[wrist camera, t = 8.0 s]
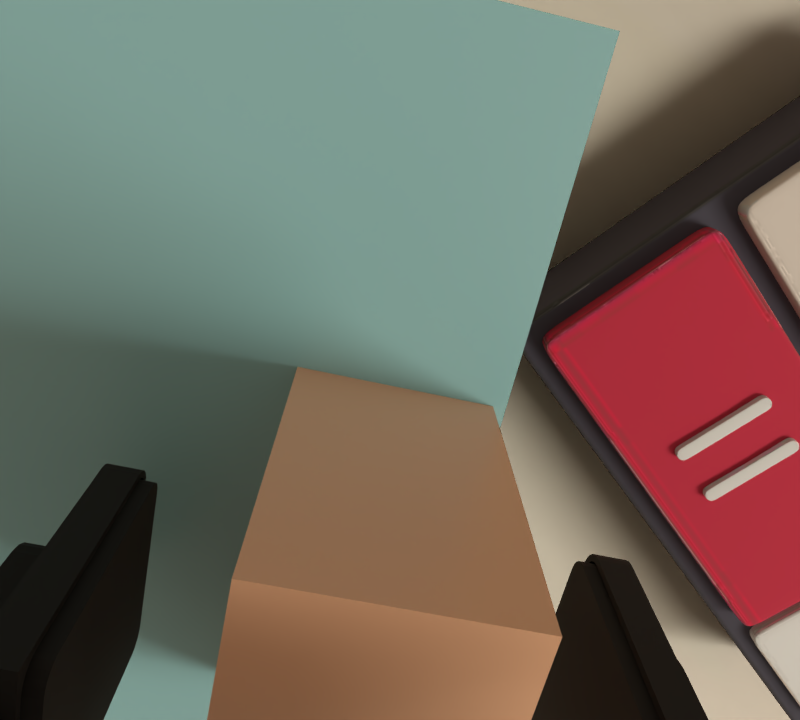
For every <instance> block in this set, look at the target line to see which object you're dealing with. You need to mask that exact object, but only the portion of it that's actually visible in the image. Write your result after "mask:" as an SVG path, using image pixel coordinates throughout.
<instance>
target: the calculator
mask: <svg viewBox="0 0 800 720" xmlns="http://www.w3.org/2000/svg"><path fill="white" fill-rule="evenodd" d="M523 354H524V356H525V357H526V359H527V360H528V361H529V363H530V364H531V365H532V367H533V368H534V370H535V371H536V372H537V374H538V375H539V376H540V378H541V379H542V380H543V382H544V383H545V385H546V386H547V387H548V389H549V390H550V391H551V393H552V394H553V395H554V397H555V398H556V400H557V401H558V402H559V404H560V405H561V406H562V408H563V409H564V410H565V412H566V413H567V415H568V416H569V417H570V419H571V420H572V421H573V423H574V424H575V426H576V427H577V428H578V430H579V431H580V432H581V434H582V435H583V436H584V438H585V439H586V441H587V442H588V443H589V445H590V446H591V447H592V449H593V450H594V451H595V453H596V454H597V456H598V457H599V458H600V460H601V461H602V462H603V464H604V465H605V466H606V468H607V469H608V471H609V472H610V473H611V475H612V476H613V477H614V479H615V480H616V482H617V483H618V484H619V486H620V487H621V488H622V490H623V491H624V492H625V494H626V495H627V497H628V498H629V499H630V501H631V502H632V503H633V505H634V506H635V507H636V509H637V510H638V512H639V513H640V514H641V516H642V517H643V518H644V520H645V521H646V522H647V524H648V525H649V527H650V528H651V529H652V531H653V532H654V533H655V535H656V536H657V538H658V539H659V540H660V542H661V543H662V544H663V546H664V547H665V548H666V550H667V551H668V553H669V554H670V555H671V557H672V558H673V559H674V561H675V562H676V563H677V565H678V566H679V568H680V569H681V570H682V572H683V573H684V574H685V576H686V577H687V578H688V580H689V581H690V583H691V584H692V585H693V587H694V588H695V589H696V591H697V592H698V594H699V595H700V596H701V598H702V599H703V600H704V602H705V603H706V604H707V606H708V607H709V609H710V610H711V611H712V613H713V614H714V615H715V617H716V618H717V619H718V621H719V622H720V624H721V625H722V626H723V628H724V629H725V630H726V632H727V633H728V635H729V636H730V637H731V639H732V640H733V641H734V643H735V644H736V645H737V647H738V648H739V650H740V651H741V652H742V654H743V655H744V656H745V658H746V659H747V660H748V662H749V663H750V665H751V666H752V667H753V669H754V670H755V671H756V673H757V674H758V675H759V677H760V678H761V680H762V681H763V682H764V684H765V685H766V686H767V688H768V689H769V691H770V692H771V693H772V695H773V696H774V697H775V699H776V700H777V701H778V703H779V704H780V706H781V707H782V708H783V710H784V711H785V712H786V714H787V715H788V716H789V718H790V719H791V720H800V96H799V97H797V98H796V99H795V100H793V101H792V102H790V103H789V104H787V105H786V106H785V107H783V108H782V109H780V110H779V111H777V112H776V113H775V114H773V115H772V116H770V117H769V118H767V119H766V120H765V121H763V122H762V123H760V124H759V125H757V126H756V127H754V128H753V129H752V130H750V131H749V132H747V133H746V134H744V135H743V136H742V137H740V138H739V139H737V140H736V141H734V142H733V143H732V144H730V145H729V146H727V147H726V148H724V149H723V150H722V151H720V152H719V153H717V154H716V155H714V156H713V157H711V158H710V159H709V160H707V161H706V162H704V163H703V164H701V165H700V166H699V167H697V168H696V169H694V170H693V171H691V172H690V173H689V174H687V175H686V176H684V177H683V178H681V179H680V180H679V181H677V182H676V183H674V184H673V185H671V186H670V187H668V188H667V189H666V190H664V191H663V192H661V193H660V194H658V195H657V196H656V197H654V198H653V199H651V200H650V201H648V202H647V203H646V204H644V205H643V206H641V207H640V208H638V209H637V210H636V211H634V212H633V213H631V214H630V215H628V216H627V217H625V218H624V219H623V220H621V221H620V222H618V223H617V224H615V225H614V226H613V227H611V228H610V229H608V230H607V231H605V232H604V233H603V234H601V235H600V236H598V237H597V238H595V239H594V240H593V241H591V242H590V243H588V244H587V245H585V246H584V247H582V248H581V249H580V250H578V251H577V252H575V253H574V254H572V255H571V256H570V257H568V258H567V259H565V260H564V261H562V262H561V263H560V264H558V265H557V266H555V267H554V268H552V269H551V270H550V271H548V272H547V274H546V277H545V281H544V284H543V287H542V291H541V294H540V297H539V301H538V304H537V307H536V310H535V314H534V317H533V320H532V324H531V327H530V330H529V334H528V337H527V340H526V344H525V347H524V350H523Z"/></svg>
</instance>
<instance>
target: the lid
mask: <svg viewBox="0 0 800 720" xmlns="http://www.w3.org/2000/svg"><path fill="white" fill-rule="evenodd" d="M619 32H620V31H617V30H613V29H609V28H605V27H601V26H597V25H593V24H589V23H585V22H581V21H577V20H573V19H569V18H566V17H562V16H558V15H554V14H550V13H546V12H542V11H538V10H534V9H530V8H526V7H522V6H518V5H514V4H510V3H506V2H502V1H498V0H0V566H1V565H2V563H3V562H4V561H5V560H6V558H7V557H8V556H9V554H10V553H11V552H12V551H13V550H14V549H15V548H16V547H17V546H18V545H19V544H21V543H24V542H26V543H32V544H38V545H43V546H46V545H47V543H48V542H49V541H50V539H51V538H52V536H53V535H54V534H55V532H56V531H57V529H58V528H59V527H60V525H61V524H62V523H63V521H64V520H65V518H66V517H67V516H68V514H69V513H70V511H71V510H72V509H73V507H74V506H75V504H76V503H77V502H78V500H79V499H80V498H81V496H82V495H83V493H84V492H85V491H86V489H87V488H88V486H89V485H90V484H91V482H92V481H93V479H94V478H95V477H96V475H97V474H98V472H99V471H100V470H101V468H102V467H103V466H104V465H105V464H113V465H119V466H124V467H129V468H135V469H140V470H145V472H146V481H150V482H156V483H157V487H158V488H157V498H156V506H155V514H154V521H153V529H152V537H151V545H150V553H149V561H148V569H147V576H146V584H145V592H144V600H143V608H142V616H141V623H140V630H139V634H138V639H137V642H136V645H135V648H134V651H133V654H132V656H131V658H130V661H129V663H128V665H127V668H126V670H125V672H124V674H123V677H122V679H121V681H120V683H119V686H118V688H117V690H116V693H115V695H114V697H113V699H112V702H111V704H110V706H109V708H108V711H107V713H106V715H105V718H104V720H531V719H532V717H533V714H534V711H535V709H536V706H537V703H538V701H539V698H540V695H541V693H542V690H543V687H544V685H545V682H546V679H547V677H548V674H549V671H550V669H551V666H552V663H553V661H554V658H555V655H556V653H557V650H558V647H559V645H560V642H561V639H562V634H561V631H560V627H559V624H558V621H557V618H556V614H555V611H554V608H553V604H552V601H551V598H550V594H549V591H548V588H547V584H546V581H545V578H544V574H543V571H542V568H541V564H540V561H539V558H538V554H537V551H536V548H535V544H534V541H533V538H532V534H531V531H530V528H529V524H528V521H527V518H526V514H525V511H524V508H523V504H522V501H521V498H520V494H519V491H518V488H517V484H516V481H515V478H514V474H513V471H512V468H511V464H510V461H509V458H508V454H507V451H506V448H505V444H504V441H503V438H502V434H501V431H500V427H501V423H502V420H503V417H504V413H505V410H506V407H507V403H508V400H509V397H510V393H511V390H512V387H513V383H514V380H515V377H516V374H517V370H518V367H519V364H520V360H521V357H522V354H523V350H524V347H525V344H526V340H527V337H528V334H529V330H530V327H531V324H532V320H533V317H534V314H535V310H536V307H537V304H538V301H539V297H540V294H541V291H542V287H543V284H544V281H545V277H546V274H547V271H548V267H549V264H550V261H551V257H552V254H553V251H554V247H555V244H556V241H557V237H558V234H559V231H560V228H561V224H562V221H563V218H564V214H565V211H566V208H567V204H568V201H569V198H570V194H571V191H572V188H573V184H574V181H575V178H576V174H577V171H578V168H579V164H580V161H581V158H582V155H583V151H584V148H585V145H586V141H587V138H588V135H589V131H590V128H591V125H592V121H593V118H594V115H595V111H596V108H597V105H598V101H599V98H600V95H601V91H602V88H603V85H604V81H605V78H606V75H607V72H608V68H609V65H610V62H611V58H612V55H613V52H614V48H615V45H616V42H617V38H618V35H619Z"/></svg>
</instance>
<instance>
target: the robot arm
mask: <svg viewBox="0 0 800 720" xmlns="http://www.w3.org/2000/svg"><path fill="white" fill-rule="evenodd" d="M157 488H158V487H157V483H156V482H150V481H146V472H145V470H140V469H135V468H129V467H124V466H119V465H113V464H105V465H104V466H103V467H102V468H101V470H100V471H99V472H98V474H97V475H96V477H95V478H94V479H93V481H92V482H91V484H90V485H89V486H88V488H87V489H86V491H85V492H84V493H83V495H82V496H81V498H80V499H79V500H78V502H77V503H76V504H75V506H74V507H73V509H72V510H71V511H70V513H69V514H68V516H67V517H66V518H65V520H64V521H63V523H62V524H61V525H60V527H59V528H58V529H57V531H56V532H55V534H54V535H53V536H52V538H51V539H50V541H49V542H48V543H47V545H46V546H43V545H38V544H32V543H26V542H24V543H21V544H19V545H18V546H17V547H16V548H15V549H14V550H13V551H12V552H11V553H10V554H9V556H8V557H7V558H6V560H5V561H4V562H3V563H2V565H1V566H0V720H104V718H105V715H106V713H107V711H108V708H109V706H110V704H111V702H112V699H113V697H114V695H115V693H116V690H117V688H118V686H119V683H120V681H121V679H122V677H123V674H124V672H125V670H126V668H127V665H128V663H129V661H130V658H131V656H132V654H133V651H134V648H135V645H136V642H137V639H138V634H139V630H140V623H141V616H142V608H143V600H144V592H145V584H146V576H147V569H148V561H149V553H150V545H151V537H152V529H153V521H154V514H155V506H156V498H157ZM556 618H557V621H558V624H559V627H560V631H561V634H562V639H561V642H560V645H559V647H558V650H557V653H556V655H555V658H554V661H553V663H552V666H551V669H550V671H549V674H548V677H547V679H546V682H545V685H544V687H543V690H542V693H541V695H540V698H539V701H538V703H537V706H536V709H535V711H534V714H533V717H532V719H531V720H708V718H707V716H706V714H705V712H704V710H703V708H702V706H701V704H700V702H699V700H698V698H697V695H696V693H695V691H694V689H693V687H692V685H691V683H690V681H689V679H688V677H687V675H686V673H685V671H684V669H683V667H682V666H681V664H680V663H679V661H678V660H677V659H676V657H675V654H674V652H673V650H672V648H671V646H670V644H669V642H668V640H667V638H666V636H665V634H664V632H663V630H662V627H661V625H660V623H659V621H658V619H657V617H656V615H655V613H654V611H653V609H652V607H651V605H650V603H649V600H648V598H647V596H646V594H645V592H644V590H643V588H642V586H641V584H640V582H639V580H638V578H637V576H636V574H635V571H634V569H633V567H632V565H631V564H630V563H629V562H628V561H626V560H622V559H616V558H611V557H605V556H600V555H595V554H592V555H589V557H588V558H587V559H586V561H585V562H581V561H578V562H576V563H575V564H574V566H573V568H572V571H571V573H570V576H569V579H568V582H567V584H566V587H565V590H564V593H563V595H562V598H561V601H560V604H559V606H558V609H557V612H556Z"/></svg>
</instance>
